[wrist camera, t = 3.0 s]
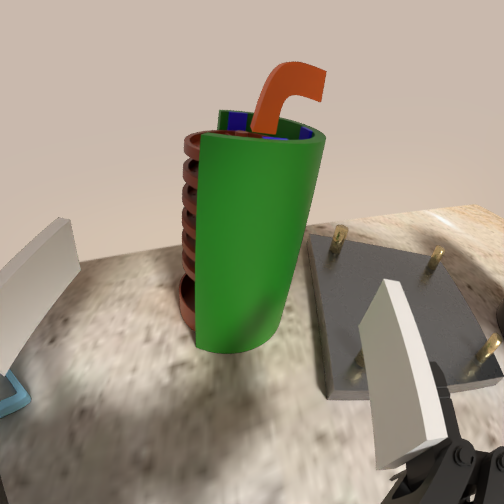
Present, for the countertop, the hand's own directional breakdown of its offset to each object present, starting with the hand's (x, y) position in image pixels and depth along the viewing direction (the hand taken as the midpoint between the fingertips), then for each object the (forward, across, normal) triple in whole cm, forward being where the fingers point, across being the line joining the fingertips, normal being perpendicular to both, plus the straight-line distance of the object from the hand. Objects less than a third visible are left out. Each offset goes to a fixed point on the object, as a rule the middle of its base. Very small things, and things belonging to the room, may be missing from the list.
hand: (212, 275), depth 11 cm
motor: (+10, 0, -12) cm, 15 cm away
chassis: (+13, +18, -11) cm, 25 cm away
